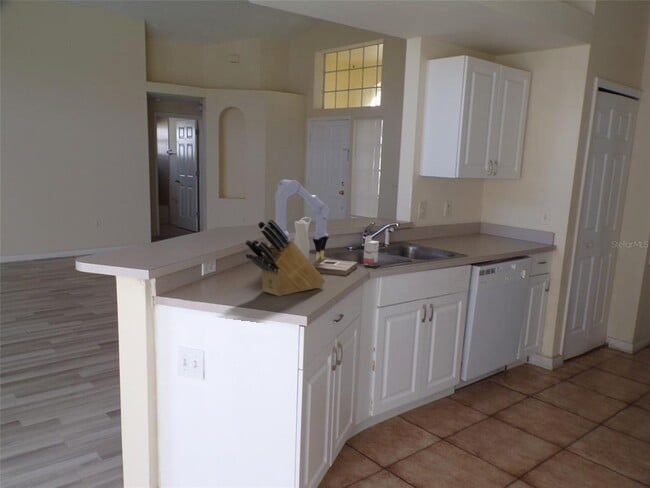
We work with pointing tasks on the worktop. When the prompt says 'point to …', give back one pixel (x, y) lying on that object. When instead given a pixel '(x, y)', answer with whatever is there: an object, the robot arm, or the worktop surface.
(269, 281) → the knife block
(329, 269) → the plate
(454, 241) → the worktop surface
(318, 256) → the brass peg
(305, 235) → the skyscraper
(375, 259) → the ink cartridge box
